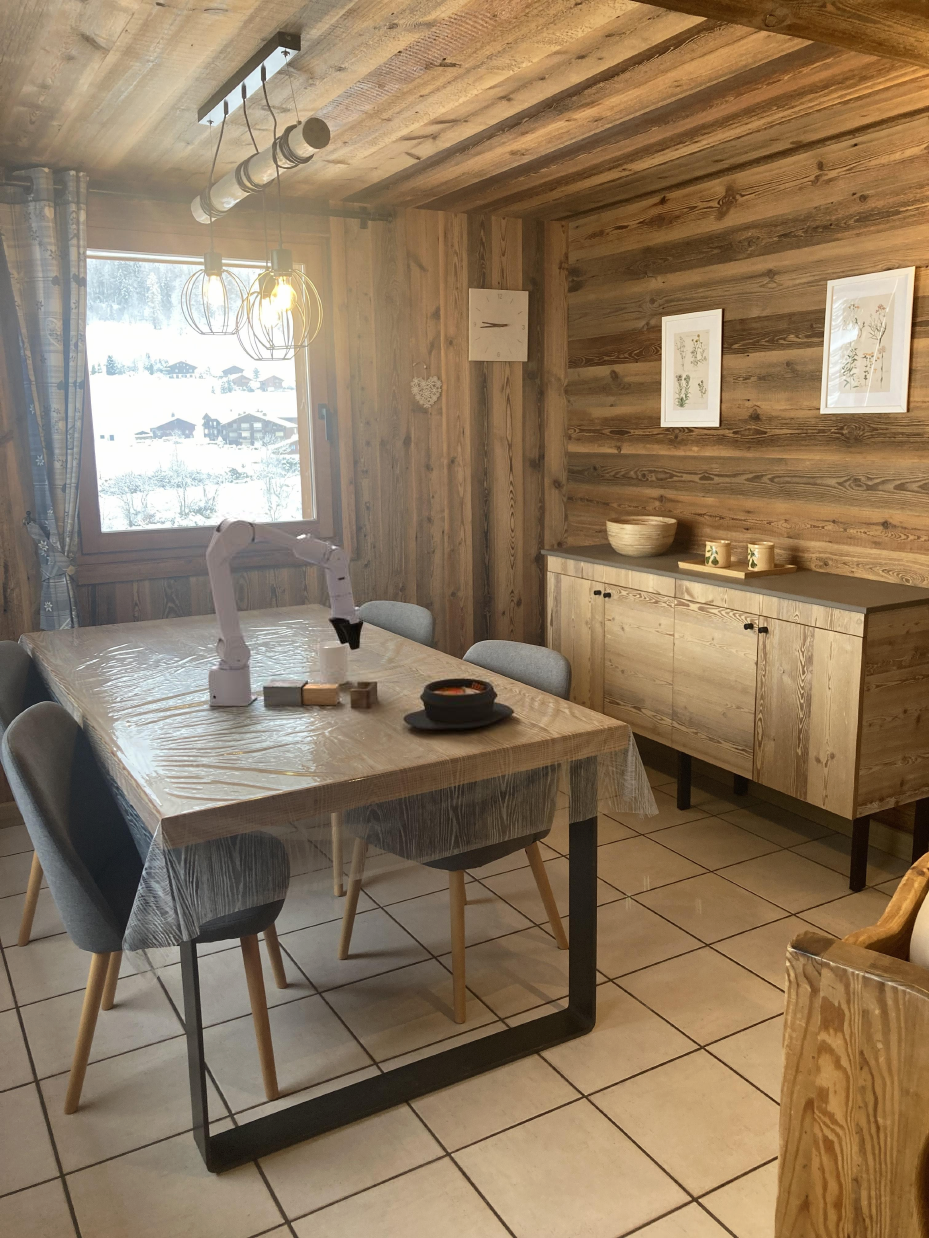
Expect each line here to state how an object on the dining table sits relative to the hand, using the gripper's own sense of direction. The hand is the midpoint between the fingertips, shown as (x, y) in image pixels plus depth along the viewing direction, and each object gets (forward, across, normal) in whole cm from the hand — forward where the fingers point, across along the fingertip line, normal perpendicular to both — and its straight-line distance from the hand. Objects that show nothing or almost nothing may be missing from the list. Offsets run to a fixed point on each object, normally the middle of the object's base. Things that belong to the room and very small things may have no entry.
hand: (350, 646), depth 246 cm
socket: (+10, -17, +4) cm, 20 cm away
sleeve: (+8, -7, +20) cm, 23 cm away
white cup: (+10, +6, +4) cm, 13 cm away
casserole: (+12, -42, -9) cm, 45 cm away
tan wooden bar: (+8, -9, +16) cm, 20 cm away
